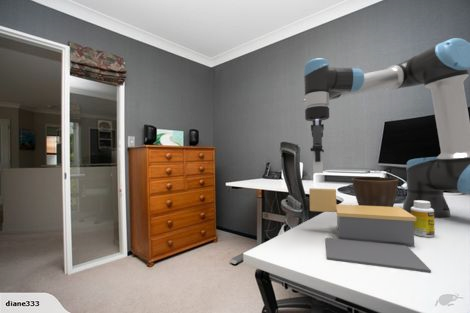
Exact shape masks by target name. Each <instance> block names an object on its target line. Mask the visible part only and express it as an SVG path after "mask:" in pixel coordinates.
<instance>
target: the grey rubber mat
mask: <svg viewBox="0 0 470 313" xmlns="http://www.w3.org/2000/svg"><path fill="white" fill-rule="evenodd" d="M325 249H326V259H327V260H329V261H330V260H331V261H336V262H345V263H352V264H360V265H368V266H376V267H384V268H385V267H386V268H393V269H399V270H405V271H407V270H409V271H416V272H423V273H429V274H430V273H432V270H431V269H430V267H428V266H427V264H426V263H425V262H423V260H421V259H420V258H419V256H418V255H416V254H415V252H414V251H413V250H412V249H411V248H410V246H407V245H396V244H386V243H375V242H365V241H355V240H344V239H340V238H333V237H332V238H331V237H325Z"/></svg>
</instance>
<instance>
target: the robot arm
mask: <svg viewBox="0 0 470 313" xmlns="http://www.w3.org/2000/svg"><path fill="white" fill-rule="evenodd" d="M469 69H470V42H468V41H467V40H466V39H463V38H459V37H454V38H450V39H448V40H445V41H443V42H439V43H438V44H436V45H435V46H432V47H431V48H428V49H427V50H425V51H423V52H421V53H418V54H416V55H414V56H412V57H410V58H408V59H406V60H404V61H403V62H400V63H398V64H392V65H390V66H388V67H387V68H386V69H380V70H376V71H371V72H365V73H364V71H363V70H362V69H361V68H354V67H333V66H330V65H329V61H328V59H326V58H323V57H317V58H313V59H311V60H308V61H307V62H306V63H305V65H304V72H303V78H304V98H303V100H302V101H303V103H304V107H305V108H306V109H305V110H304V118H305V121H308V122H312V124H311V125H310V131H311V137H312V147H310V152H312V168H313V169H312V173H313V174H323V173H324V167H323V165H324V164H323V163H324V162H323V160H324V159H323V153H324V152H325V150H324V149H323V142H322V141H323V137H324V130H325V129H324V128H325V127H324V126H325V125H324V123H323V124H322V122H323V121H325V120H328V119H330V108H329V105H330V101H331V100H336V99H340V98H344V97H345V98H346V97H350V96H355V95H359V94H365V93H369V92H375V91H379V90H383V89H384V90H385V89H389V90H397V89H402V88H410V87H417V86H421V85H424V88H426V89H429V90H430V93H431V100H432V106H433V111H434V118H435V123H436V129H437V136H438V141H439V148H440V154H438V156H430V157H429V156H428V157H419V158H413V159H409V160H408V161H407V162H406V169H405V170H406V188H407V195H406V197H405V199H404V202H403V204H402V209H404V210H405V211H407V212H409V213H410V214H411V207H413V206H414V201H415V200H421V201H429V202H430V205H431V206H430V208H432V209H433V210H434V218H448V217H450V216H451V208H450V207H449V205H448V202H447V200H446V198H445V196H444V191H447V192H453V193H461V194H464V195H465V194H466V195H467V194H470V116H469V110H468V104H467V103H468V102H467V96H466V91H465V85H464V84H465V83H464V81H465V80H466V79H467V78H468V77H469Z"/></svg>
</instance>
